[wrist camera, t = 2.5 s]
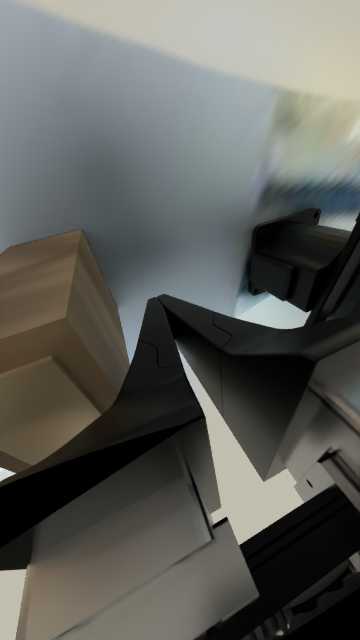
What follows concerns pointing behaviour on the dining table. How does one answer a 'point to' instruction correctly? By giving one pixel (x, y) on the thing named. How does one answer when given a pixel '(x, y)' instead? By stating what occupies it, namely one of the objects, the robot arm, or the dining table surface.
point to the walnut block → (54, 347)
